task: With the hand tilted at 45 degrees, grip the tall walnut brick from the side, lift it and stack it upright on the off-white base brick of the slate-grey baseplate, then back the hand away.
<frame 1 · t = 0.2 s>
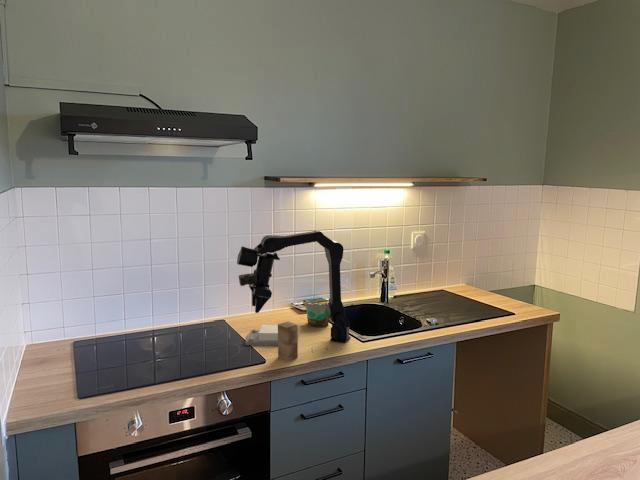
hand: (254, 309, 187), 15 cm above the countertop, tool pointing down, fingers open, 9 cm apart
walnut brick: (287, 357, 180), on the countertop
food container: (315, 326, 216), on the countertop
base brick: (273, 339, 199), on the countertop
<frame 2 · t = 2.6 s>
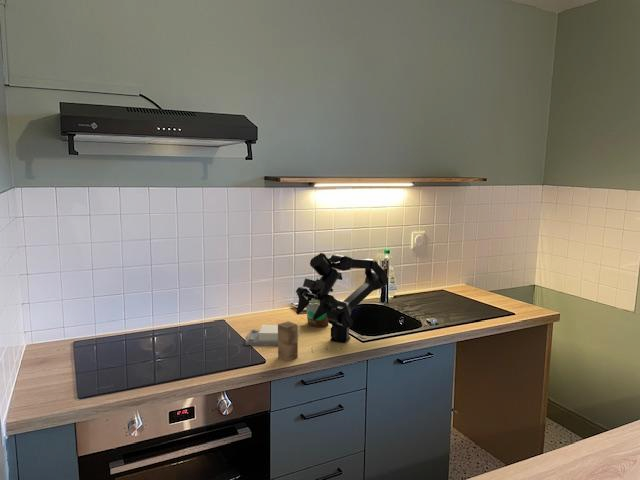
hand: (305, 316, 184), 13 cm above the countertop, tool tilted 45°, fingers open, 9 cm apart
nothing on the countertop moved.
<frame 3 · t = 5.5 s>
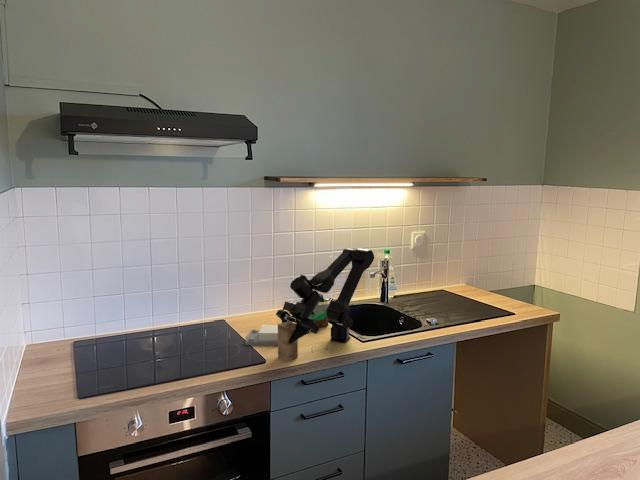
hand: (284, 341, 178), 7 cm above the countertop, tool tilted 45°, fingers closed on walnut brick, 5 cm apart
walnut brick: (287, 357, 180), on the countertop, touching gripper
everything else where it was.
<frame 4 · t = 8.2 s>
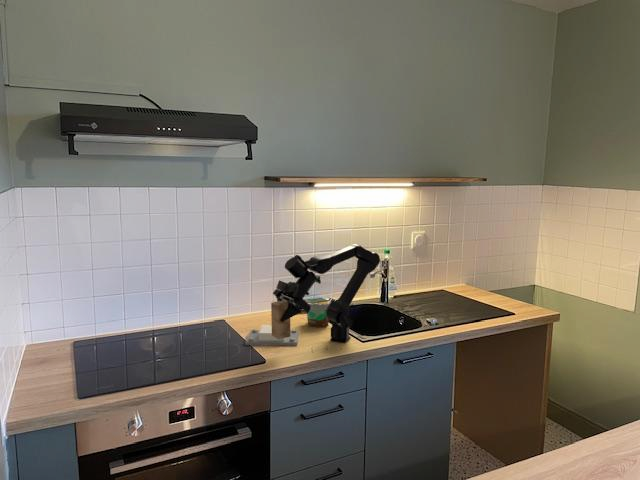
hand: (277, 319, 181), 13 cm above the countertop, tool tilted 45°, fingers closed on walnut brick, 5 cm apart
walnut brick: (281, 336, 182), point 7 cm above the countertop, touching gripper
everything else where it was.
when the fingers open (12 cm above the countertop, at t = 10.7 s): walnut brick drops 1 cm, resting on base brick.
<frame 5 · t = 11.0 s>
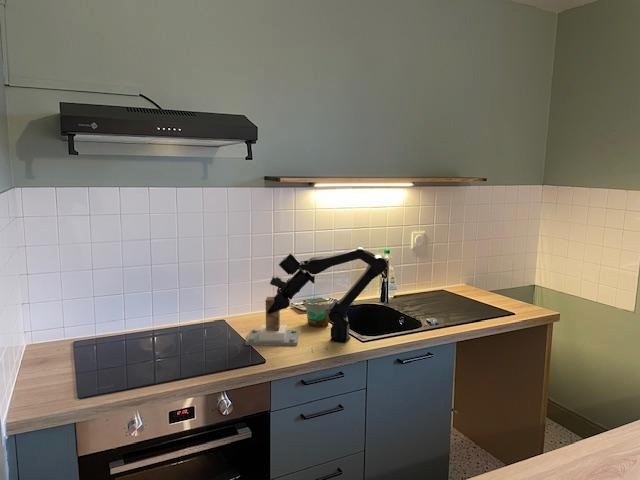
hand: (269, 309, 197), 12 cm above the countertop, tool tilted 45°, fingers open, 9 cm apart
walnut brick: (273, 328, 198), point 4 cm above the countertop, touching base brick
everything else where it was.
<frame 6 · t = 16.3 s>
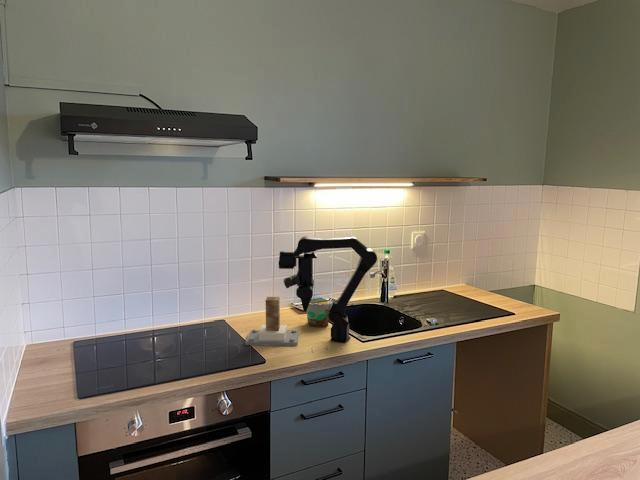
hand: (305, 307, 197), 13 cm above the countertop, tool pointing down, fingers open, 9 cm apart
nothing on the countertop moved.
at the end: walnut brick 0.0 cm off-centre on the base brick, point 4.2 cm above the base brick's base; walnut brick tilted 0°; the gripper is holding nothing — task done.
